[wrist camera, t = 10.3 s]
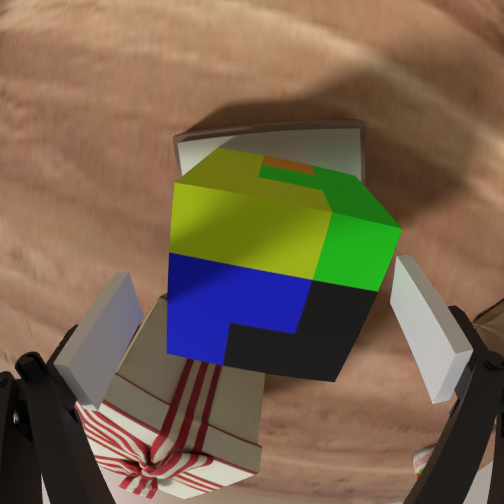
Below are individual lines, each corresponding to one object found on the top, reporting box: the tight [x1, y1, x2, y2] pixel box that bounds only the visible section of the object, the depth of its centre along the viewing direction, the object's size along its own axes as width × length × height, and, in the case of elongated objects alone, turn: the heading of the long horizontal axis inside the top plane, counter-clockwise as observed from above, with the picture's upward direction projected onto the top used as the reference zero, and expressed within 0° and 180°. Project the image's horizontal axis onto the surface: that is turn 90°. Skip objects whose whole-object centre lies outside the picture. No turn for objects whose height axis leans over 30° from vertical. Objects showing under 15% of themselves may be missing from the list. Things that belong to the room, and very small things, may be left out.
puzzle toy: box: [167, 148, 402, 382], centre depth 20 cm, size 10×10×10 cm
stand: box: [173, 119, 365, 186], centre depth 26 cm, size 14×14×4 cm
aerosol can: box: [413, 444, 436, 480], centre depth 38 cm, size 7×7×20 cm
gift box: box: [75, 297, 265, 499], centre depth 30 cm, size 17×18×17 cm
